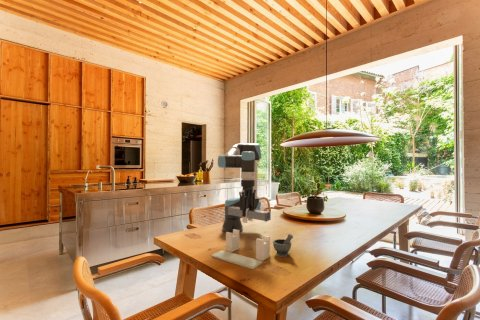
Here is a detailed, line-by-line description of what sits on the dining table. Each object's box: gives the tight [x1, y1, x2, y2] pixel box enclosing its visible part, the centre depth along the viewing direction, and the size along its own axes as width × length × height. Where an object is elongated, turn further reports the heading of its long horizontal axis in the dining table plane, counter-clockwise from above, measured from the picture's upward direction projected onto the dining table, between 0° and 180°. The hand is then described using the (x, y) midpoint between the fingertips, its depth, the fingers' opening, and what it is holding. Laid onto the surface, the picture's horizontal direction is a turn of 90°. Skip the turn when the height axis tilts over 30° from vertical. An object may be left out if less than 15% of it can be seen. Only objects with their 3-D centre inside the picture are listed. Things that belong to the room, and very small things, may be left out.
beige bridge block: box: [225, 229, 240, 253], centre depth 139 cm, size 4×8×10 cm, turn 145°
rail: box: [226, 206, 272, 223], centre depth 134 cm, size 26×5×4 cm, turn 55°
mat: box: [211, 249, 263, 270], centre depth 125 cm, size 26×9×1 cm, turn 55°
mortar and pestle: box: [272, 233, 294, 258], centre depth 132 cm, size 11×9×12 cm
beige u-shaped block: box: [255, 235, 271, 262], centre depth 128 cm, size 4×8×10 cm, turn 145°
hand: (247, 221), depth 134 cm, fingers closed on rail, 4 cm apart
